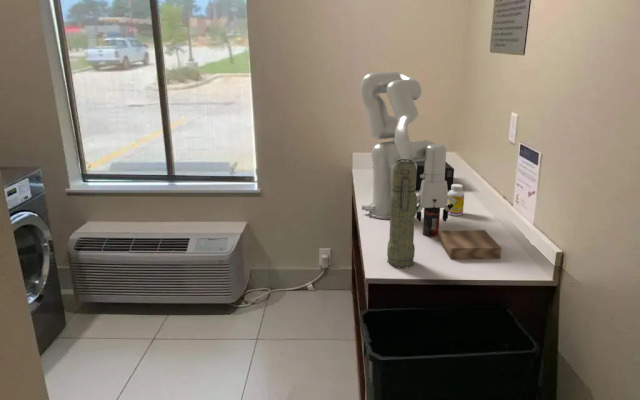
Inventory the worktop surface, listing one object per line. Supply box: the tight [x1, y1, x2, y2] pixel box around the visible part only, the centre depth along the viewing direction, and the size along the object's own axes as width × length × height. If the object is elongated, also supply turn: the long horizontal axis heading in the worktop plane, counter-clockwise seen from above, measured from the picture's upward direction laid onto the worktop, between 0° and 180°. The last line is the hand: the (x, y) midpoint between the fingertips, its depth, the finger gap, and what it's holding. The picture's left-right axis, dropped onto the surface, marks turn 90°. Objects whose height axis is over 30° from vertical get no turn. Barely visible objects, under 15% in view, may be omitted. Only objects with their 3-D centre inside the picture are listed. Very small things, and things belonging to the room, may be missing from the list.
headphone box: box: [415, 160, 455, 191], centre depth 258 cm, size 25×35×14 cm
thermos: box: [386, 159, 418, 269], centre depth 159 cm, size 9×12×35 cm
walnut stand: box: [438, 229, 502, 260], centre depth 174 cm, size 17×17×4 cm
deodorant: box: [422, 199, 441, 238], centre depth 187 cm, size 6×6×15 cm
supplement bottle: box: [447, 183, 465, 217], centre depth 210 cm, size 7×7×13 cm
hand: (431, 220), depth 187 cm, fingers open, 9 cm apart
